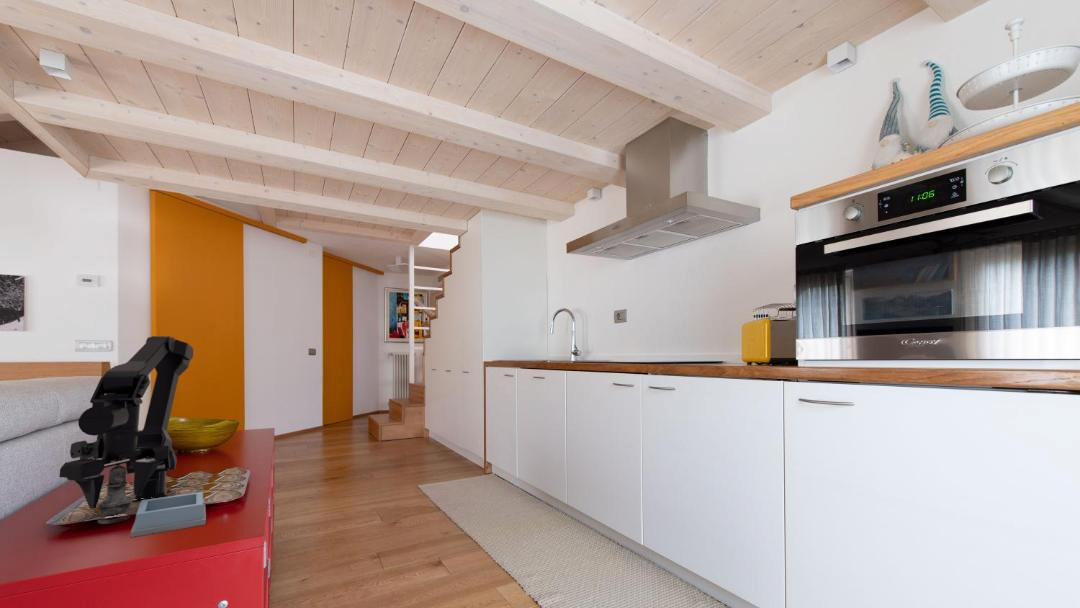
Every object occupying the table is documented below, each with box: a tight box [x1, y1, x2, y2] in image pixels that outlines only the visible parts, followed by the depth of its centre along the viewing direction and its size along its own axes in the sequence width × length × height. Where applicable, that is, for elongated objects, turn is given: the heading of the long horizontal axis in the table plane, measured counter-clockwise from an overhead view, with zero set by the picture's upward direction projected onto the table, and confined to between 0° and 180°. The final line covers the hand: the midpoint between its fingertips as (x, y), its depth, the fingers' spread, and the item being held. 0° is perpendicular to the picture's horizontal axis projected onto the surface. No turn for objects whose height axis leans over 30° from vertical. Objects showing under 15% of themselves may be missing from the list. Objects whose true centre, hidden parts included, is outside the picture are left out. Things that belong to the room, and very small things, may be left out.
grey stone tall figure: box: [96, 464, 134, 525], centre depth 104 cm, size 6×6×12 cm
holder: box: [130, 491, 207, 538], centre depth 102 cm, size 12×12×4 cm
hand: (115, 501), depth 103 cm, fingers open, 9 cm apart
